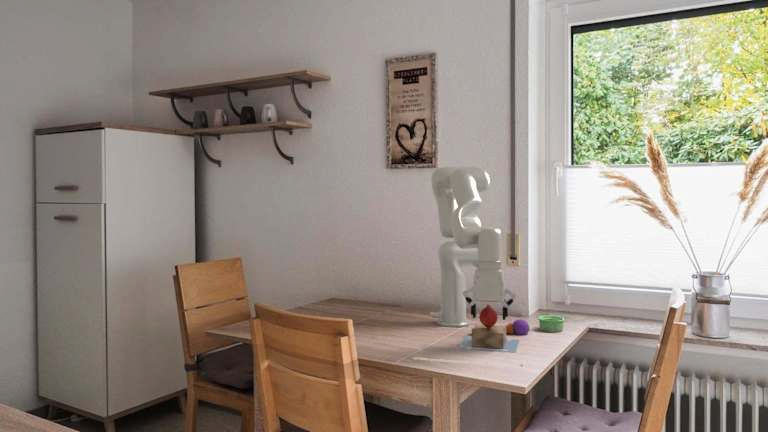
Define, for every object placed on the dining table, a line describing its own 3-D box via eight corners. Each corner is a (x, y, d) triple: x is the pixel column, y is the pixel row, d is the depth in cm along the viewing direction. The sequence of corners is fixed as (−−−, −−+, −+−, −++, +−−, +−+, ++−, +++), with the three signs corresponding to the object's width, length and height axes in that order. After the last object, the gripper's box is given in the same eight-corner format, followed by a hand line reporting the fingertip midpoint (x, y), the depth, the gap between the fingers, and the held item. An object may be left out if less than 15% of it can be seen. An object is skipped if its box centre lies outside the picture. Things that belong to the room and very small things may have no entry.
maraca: (470, 324, 205) (525, 318, 206) (472, 341, 204) (527, 335, 206) (473, 324, 199) (530, 318, 201) (475, 342, 198) (532, 336, 200)
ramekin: (565, 333, 206) (565, 321, 206) (539, 332, 208) (539, 320, 207) (562, 327, 215) (562, 315, 214) (537, 326, 216) (537, 315, 216)
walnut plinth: (471, 346, 186) (471, 331, 185) (476, 339, 195) (476, 324, 195) (503, 349, 183) (503, 333, 182) (506, 341, 192) (506, 326, 192)
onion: (477, 326, 192) (477, 302, 191) (494, 326, 192) (494, 302, 192) (482, 331, 186) (481, 306, 186) (499, 330, 186) (499, 305, 186)
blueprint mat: (457, 350, 184) (457, 348, 184) (465, 338, 199) (465, 336, 199) (515, 355, 179) (515, 352, 179) (519, 342, 194) (519, 339, 194)
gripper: (460, 266, 187) (460, 319, 188) (515, 268, 182) (515, 322, 182) (464, 263, 194) (464, 314, 195) (517, 265, 189) (517, 317, 190)
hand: (489, 318), depth 189 cm, fingers open, 9 cm apart
